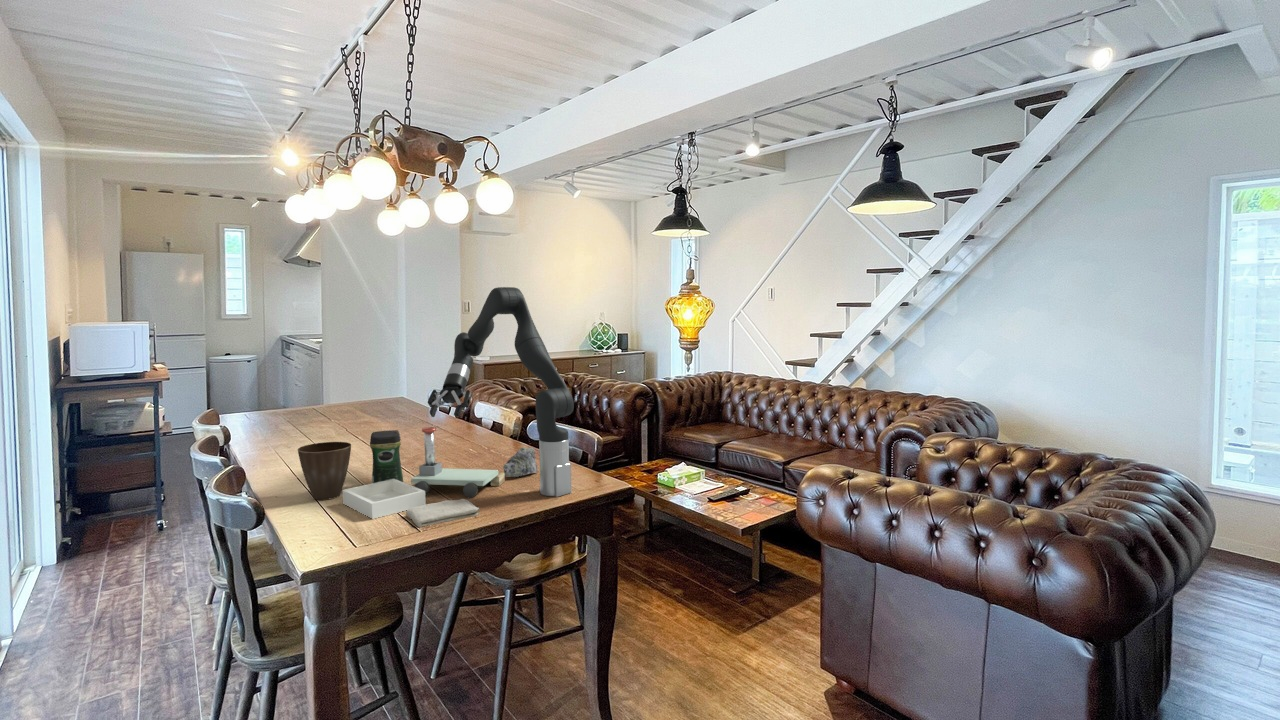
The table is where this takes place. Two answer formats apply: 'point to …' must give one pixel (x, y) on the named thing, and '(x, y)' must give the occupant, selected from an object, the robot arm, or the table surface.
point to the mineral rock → (521, 463)
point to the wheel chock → (498, 479)
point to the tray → (383, 498)
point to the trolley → (453, 478)
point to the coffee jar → (386, 456)
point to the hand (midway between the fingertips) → (443, 416)
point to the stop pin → (429, 445)
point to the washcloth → (441, 512)
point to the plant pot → (325, 467)
